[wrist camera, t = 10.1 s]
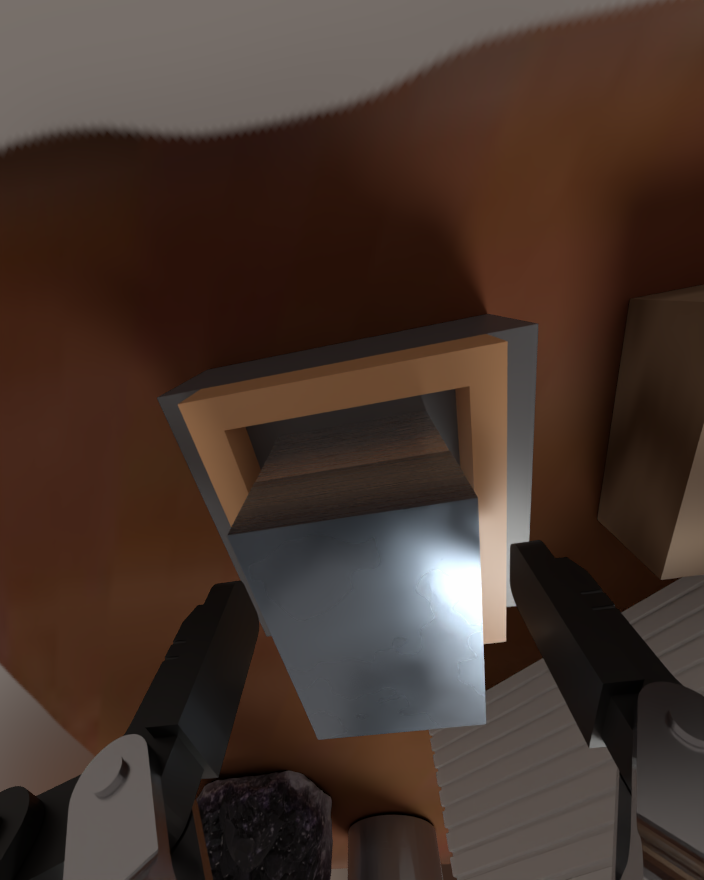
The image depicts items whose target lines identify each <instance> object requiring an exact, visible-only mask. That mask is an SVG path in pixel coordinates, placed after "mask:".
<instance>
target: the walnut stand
mask: <svg viewBox="0 0 704 880" xmlns="http://www.w3.org/2000/svg"><path fill="white" fill-rule="evenodd" d="M597 520H598V521H599V522H600V523H601V524H603V525H604V526H605V527H606V528H607V529H608V530H609V531H610V532H611V533H612V534H613V535H614V536H615V537H616V538H617V539H618V540H619V541H620V542H621V543H622V544H623V545H625V546H626V547H627V548H628V549H629V550H630V551H631V552H632V553H633V554H634V555H635V556H636V557H637V558H638V559H639V560H640V561H641V562H642V563H643V564H644V565H645V566H647V567H648V568H649V569H650V570H651V571H652V572H653V573H654V574H655V575H656V576H657V577H658V578H659V579H660V580H665V579H673V578H681V577H689V576H697V575H704V285H699V286H694V287H688V288H683V289H678V290H673V291H668V292H663V293H658V294H653V295H648V296H642V297H637V298H632V299H630V301H629V308H628V315H627V322H626V328H625V335H624V342H623V349H622V355H621V362H620V369H619V376H618V382H617V389H616V396H615V403H614V409H613V416H612V423H611V430H610V436H609V443H608V450H607V457H606V463H605V470H604V477H603V484H602V491H601V497H600V504H599V511H598V518H597Z"/></svg>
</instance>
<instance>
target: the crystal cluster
mask: <svg viewBox="0 0 704 880" xmlns="http://www.w3.org/2000/svg"><path fill="white" fill-rule="evenodd" d="M196 800H197V803H198V808H199V813H200V818H201V823H202V828H203V832H204V837H205V842H206V847H207V852H208V857H209V862H210V867H211V872H212V877H213V880H330V876H331V859H332V844H333V840H332V821H331V806H332V800H331V797H330V796H328V795H326V794H324V793H323V791H322V790H320V789H319V788H318V787H317V786H316V785H315V784H314V783H313V782H312V781H311V780H309V779H307V778H306V777H305V776H304V775H303V774H301V773H297V772H293V771H285V772H281V773H278V772H275V773H271V774H265V775H260V776H247V777H241V778H230V779H225V780H216V781H214V782H212V783H208V784H207V785H206V786H204V788H203V790H202V792H201V793H200V795H199V797H198V798H197V799H196Z"/></svg>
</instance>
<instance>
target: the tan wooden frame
mask: <svg viewBox="0 0 704 880" xmlns="http://www.w3.org/2000/svg"><path fill="white" fill-rule="evenodd" d="M537 342H538V324H537V323H532V322H527V321H522V320H517V319H511V318H506V317H501V316H496V315H491V314H485V315H480V316H475V317H470V318H465V319H460V320H455V321H450V322H445V323H440V324H435V325H430V326H425V327H420V328H415V329H410V330H405V331H400V332H395V333H390V334H385V335H380V336H375V337H369V338H364V339H359V340H354V341H349V342H344V343H339V344H334V345H329V346H324V347H319V348H314V349H309V350H304V351H299V352H294V353H289V354H284V355H279V356H274V357H269V358H264V359H259V360H254V361H249V362H244V363H239V364H234V365H229V366H224V367H219V368H214V369H209V370H206V371H204V372H202V373H201V374H199V375H197V376H195V377H193V378H192V379H190V380H188V381H186V382H184V383H183V384H181V385H179V386H177V387H175V388H174V389H172V390H170V391H168V392H166V393H165V394H163V395H161V396H159V397H157V399H158V401H159V403H160V406H161V408H162V410H163V412H164V414H165V416H166V419H167V421H168V423H169V425H170V427H171V430H172V432H173V434H174V436H175V438H176V440H177V443H178V445H179V447H180V449H181V451H182V453H183V456H184V458H185V460H186V462H187V464H188V466H189V469H190V471H191V473H192V475H193V477H194V479H195V482H196V484H197V486H198V488H199V490H200V493H201V495H202V497H203V499H204V501H205V503H206V506H207V508H208V510H209V512H210V514H211V516H212V519H213V521H214V523H215V525H216V527H217V529H218V532H219V534H220V536H221V538H222V540H223V543H224V545H225V547H226V549H227V551H228V553H229V556H230V558H231V560H232V562H233V564H234V566H235V569H236V571H237V573H238V575H239V577H240V579H241V581H242V582H243V583H244V585H245V587H246V590H247V592H248V594H249V596H250V598H251V601H252V603H253V605H254V607H255V609H256V611H257V614H258V618H259V621H260V623H261V625H262V627H263V629H264V632H265V634H266V636H272V635H271V633H270V631H269V628H268V626H267V624H266V622H265V619H264V617H263V615H262V613H261V611H260V608H259V606H258V604H257V602H256V599H255V597H254V595H253V593H252V590H251V588H250V586H249V584H248V581H247V579H246V577H245V575H244V573H243V570H242V568H241V566H240V564H239V561H238V559H237V557H236V555H235V552H234V550H233V548H232V546H231V543H230V541H229V539H228V537H227V535H228V533H229V531H230V529H231V527H232V525H233V523H234V521H235V519H236V517H237V515H238V513H239V511H240V509H241V507H242V505H243V504H244V502H245V500H246V498H247V496H248V494H249V492H250V490H251V488H252V486H253V484H254V482H256V480H257V478H258V476H259V474H260V472H261V470H262V468H263V466H264V464H265V462H266V460H267V458H268V456H269V454H270V452H271V450H272V448H273V446H274V444H275V442H276V440H277V439H278V437H279V436H281V435H287V434H293V433H298V432H304V431H310V430H315V429H321V428H327V427H332V426H338V425H344V424H349V423H355V422H361V421H366V420H372V419H378V418H383V417H389V416H395V415H400V414H406V413H412V412H417V411H423V410H426V411H427V413H428V415H429V416H430V418H431V420H432V422H433V423H434V425H435V427H436V428H437V430H438V432H439V434H440V435H441V437H442V439H443V440H444V442H445V444H446V446H447V447H448V449H449V450H450V451H451V453H452V454H453V456H454V458H455V460H456V461H457V463H458V465H459V466H460V468H461V470H462V471H463V473H464V475H465V477H466V478H467V480H468V482H469V483H470V485H471V487H472V488H473V490H474V492H475V494H476V495H477V497H478V512H479V539H480V566H481V593H482V620H483V644H489V643H498V642H506V607H511V606H516V604H515V601H514V599H513V596H512V592H511V588H510V546H511V544H514V543H521V542H528V541H529V534H530V510H531V486H532V462H533V438H534V414H535V390H536V366H537Z"/></svg>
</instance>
